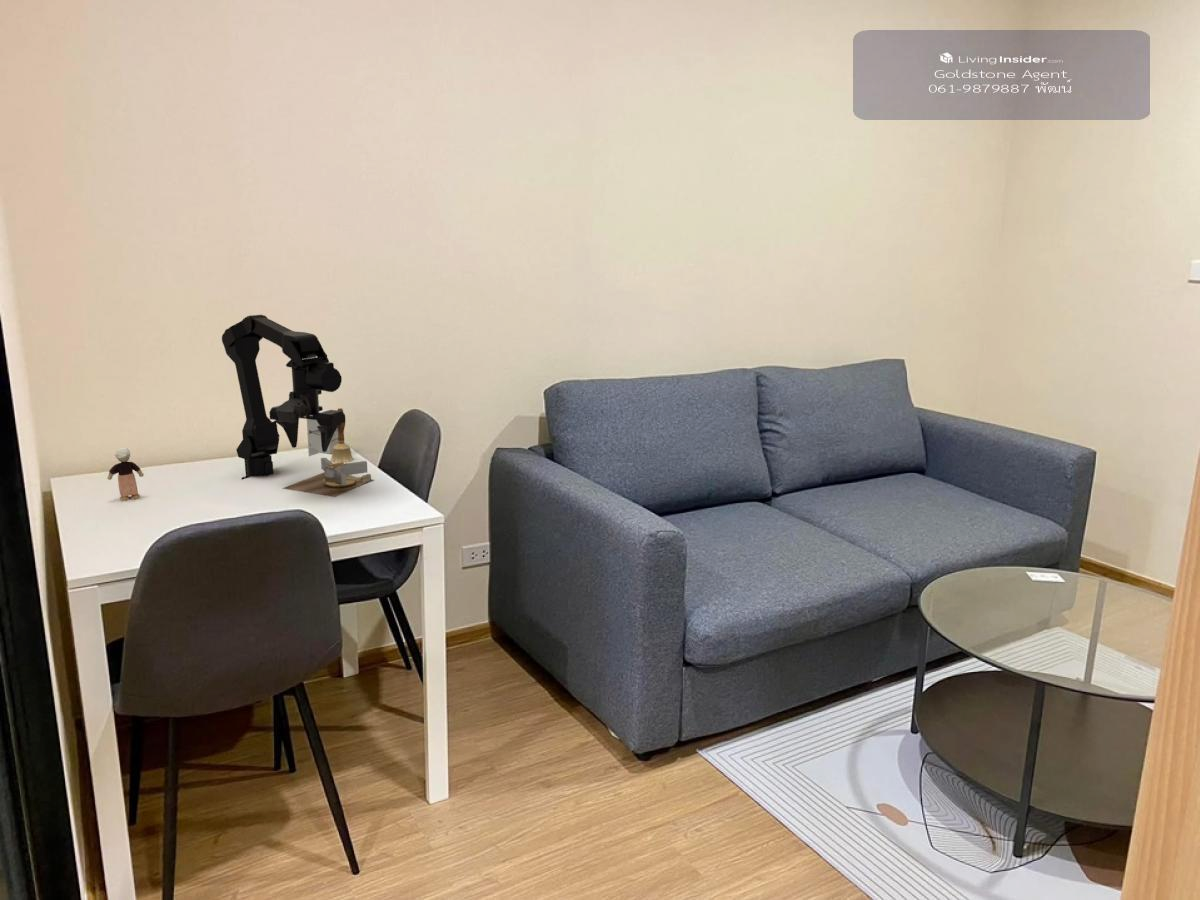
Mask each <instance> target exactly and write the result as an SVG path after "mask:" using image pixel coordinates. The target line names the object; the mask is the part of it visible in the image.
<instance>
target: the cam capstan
mask: <svg viewBox="0 0 1200 900" xmlns="http://www.w3.org/2000/svg"><path fill="white" fill-rule="evenodd" d="M320 465H321V466H320V467H321V470H322V471H323V473H324V475H325V478H324V479H323V483H324V485H325V486H327V487H347V486H351V485H354V484H356V477H357V476H354V475H361V474H364V473H365V474H366V473H368V462H367V460H362V461H352V462H348V463H343V462H342V463H333V462H331V461H330V460H329V458H327V457H321V458H320ZM368 474H369V473H368Z"/></svg>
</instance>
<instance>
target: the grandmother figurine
mask: <svg viewBox="0 0 1200 900" xmlns="http://www.w3.org/2000/svg"><path fill="white" fill-rule="evenodd" d="M114 456H115V459H117V460H118V461H119V463H116V464H114V465H113V466H112V467H110V470H108V471H109V472H108V475H107V480H110V481H111V480H113V476H114V475H117V474H118V475H117V481H118V490H119V494H120V495H119V496H120V497H119V500H121V501H129V500H130V498H131V499H132V500H135V499H136V500H137V499H139V498H140V497H141V494H139V490H138V484H137V480H136V475H135V473H134V472H136V474H138V476H139V477H140V478H142V477H144V472H143V470H141V468H140V467H139V465H137V464H136V463H135V462H133V461H129V460H130V457H131V451H130V449H129V448H128V447H120V448H117V450H116V452H115V455H114ZM129 496H130V497H129Z"/></svg>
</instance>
